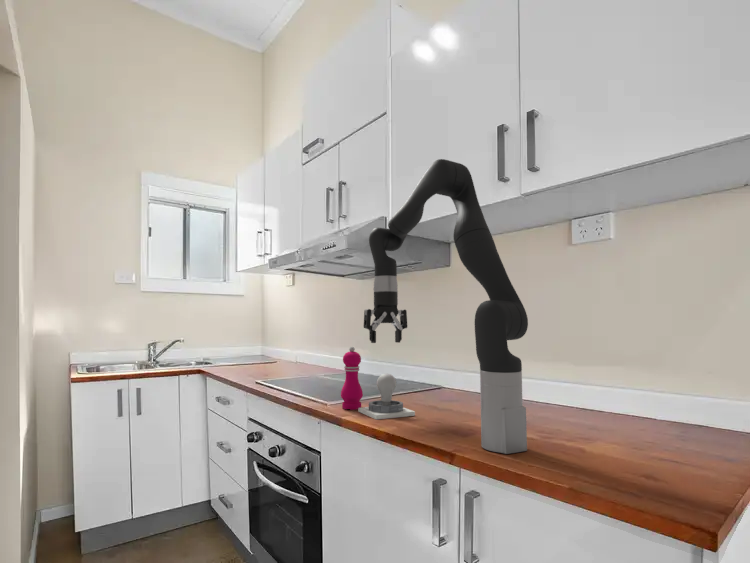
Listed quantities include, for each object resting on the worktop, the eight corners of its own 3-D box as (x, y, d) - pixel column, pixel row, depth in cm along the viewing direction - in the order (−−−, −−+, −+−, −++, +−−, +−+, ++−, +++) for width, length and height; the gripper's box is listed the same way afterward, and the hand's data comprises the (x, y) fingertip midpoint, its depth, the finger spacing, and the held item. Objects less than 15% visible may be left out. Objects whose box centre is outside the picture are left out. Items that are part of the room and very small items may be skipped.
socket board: (414, 415, 140) (414, 411, 140) (376, 419, 135) (376, 415, 135) (394, 408, 152) (394, 404, 152) (358, 411, 146) (358, 407, 146)
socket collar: (409, 411, 141) (409, 404, 141) (378, 414, 136) (378, 407, 137) (393, 405, 150) (393, 399, 151) (363, 408, 146) (363, 401, 146)
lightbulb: (394, 411, 140) (394, 374, 141) (375, 411, 141) (375, 374, 142) (397, 408, 146) (397, 372, 147) (378, 407, 147) (378, 372, 148)
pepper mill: (359, 405, 157) (359, 345, 159) (365, 409, 150) (365, 347, 152) (338, 406, 155) (338, 346, 156) (343, 410, 148) (344, 347, 149)
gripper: (370, 289, 140) (370, 343, 139) (411, 290, 146) (411, 342, 145) (360, 291, 147) (360, 342, 145) (399, 292, 153) (400, 341, 152)
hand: (385, 342), depth 145 cm, fingers open, 8 cm apart
